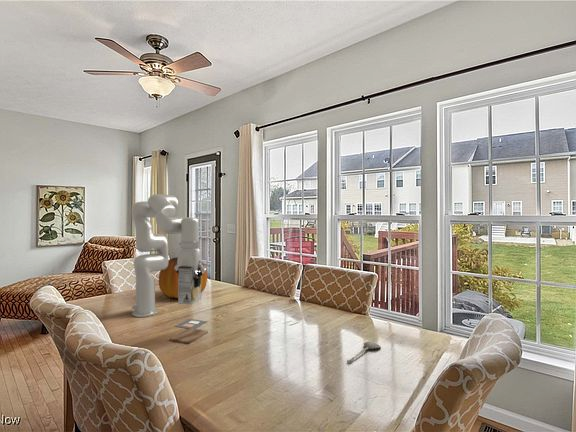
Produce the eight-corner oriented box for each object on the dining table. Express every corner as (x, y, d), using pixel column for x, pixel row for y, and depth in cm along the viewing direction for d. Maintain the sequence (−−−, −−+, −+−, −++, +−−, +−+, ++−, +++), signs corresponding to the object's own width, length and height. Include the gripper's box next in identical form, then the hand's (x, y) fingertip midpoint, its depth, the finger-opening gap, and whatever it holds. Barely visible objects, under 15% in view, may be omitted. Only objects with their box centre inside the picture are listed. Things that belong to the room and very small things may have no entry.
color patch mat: (174, 326, 149) (174, 325, 149) (189, 319, 159) (189, 318, 159) (193, 329, 145) (193, 329, 145) (207, 321, 155) (207, 321, 155)
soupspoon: (383, 349, 127) (369, 345, 132) (383, 341, 127) (368, 337, 132) (356, 367, 111) (340, 362, 115) (356, 357, 111) (340, 352, 115)
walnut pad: (169, 340, 132) (169, 338, 132) (189, 329, 145) (189, 328, 145) (189, 344, 129) (189, 342, 129) (207, 332, 141) (207, 331, 141)
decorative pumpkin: (194, 288, 225) (194, 246, 225) (215, 296, 203) (215, 250, 203) (152, 295, 205) (152, 249, 205) (170, 305, 183) (170, 254, 183)
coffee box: (188, 298, 143) (188, 263, 143) (201, 299, 142) (201, 263, 142) (177, 304, 134) (177, 266, 134) (191, 305, 133) (191, 267, 133)
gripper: (168, 245, 137) (168, 286, 137) (201, 247, 131) (201, 289, 131) (179, 244, 144) (179, 282, 144) (211, 245, 138) (211, 285, 138)
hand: (189, 285), depth 138 cm, fingers closed on coffee box, 7 cm apart
